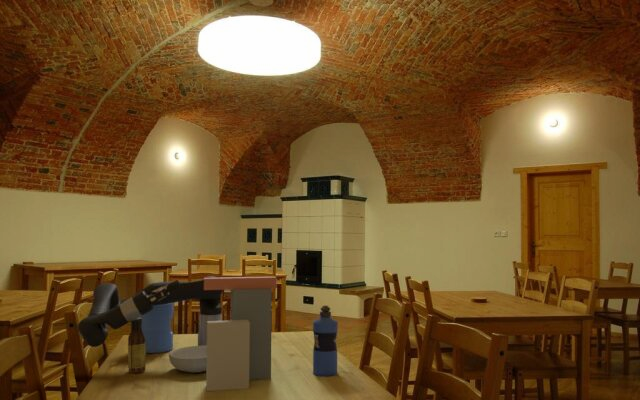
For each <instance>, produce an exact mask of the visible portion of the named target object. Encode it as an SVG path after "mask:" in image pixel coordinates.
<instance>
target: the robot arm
mask: <svg viewBox="0 0 640 400" xmlns="http://www.w3.org/2000/svg"><path fill="white" fill-rule="evenodd" d="M204 278H218V276H217V277H216V276H214V275H207V276H204V277H203V278H202V279H200V280H199V279H198V280H195V281H193V280H192V281H179V280H178V279H175V280H174V281H172V280H171V281H159V282H152V283H150V284H148V285H147V286H145V287H144V288H141V290H139V291H138V292H136V294H134V295H132V296H131V297H127V298H123V299H120V298H119V297H120V296H119V289H118V286H117V285H116V284H115V283H111V282H105V283H102V284H98V285H97V286H95V288H94V289H93V301H92V305H91V308H90V310H89V313H88V315H87V317H84V318H83V319H82V320H80V321H79V322H78V324H77V330H78V332H79V334H80V335H81V337H82V338H83V340H84V341H85V343H86V345H88V346H89V347H92V348H97V347H100V346H102V344H104V343H105V342H106V341H107V339H108V336H109V330H108V326H109V327H110V328H111V329H113V330H117V329H119V328H122V327H123V326H125V325H127V324H128V323H131V321H133V320H136V319H137V318H139V317H141V316H143V315H144V314H146V313H148V312H150V311H152V310H153V309H154V307H153V305H162V304H169V303H173V304H174V303H179V302H183V301H189V300H198V299H199V302H198V303H199V330H198V331H197V346H207V321H223V316H222V315H223V307H222V299H221V296H222V294H223V292H224V290H204Z"/></svg>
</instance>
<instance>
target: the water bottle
mask: <svg viewBox="0 0 640 400" xmlns="http://www.w3.org/2000/svg"><path fill="white" fill-rule="evenodd" d="M331 316H332V312H331V308H330V307H329V305H322V306H321V307H320V311H319V318H317V319H315V320H313V322H312V332H313V340H314V344H313V349H312V350H313V351H312V374H313V375H314V376H316V377H322V378H323V377H324V378H325V377H326V378H327V377H328V378H329V377H334V376H336V375H338V346H337V338H338V331H339V329H338V328H339V324H338V321H337V320H335V319H333V318H332V317H331Z"/></svg>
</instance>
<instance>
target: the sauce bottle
mask: <svg viewBox="0 0 640 400" xmlns="http://www.w3.org/2000/svg"><path fill="white" fill-rule="evenodd" d="M141 323H142V318H137V319H136V320H133V321H131V322H130V325H131V328H130V333H129V335H128V338H127V357H128V358H127V359H128V362H127V363H128V364H127V366H128V367H127V368H128V372H129V373H131V372H134V373H133V374H139V373H138V372H140V373H143V372H145V371H146V366H147V362H146V359H147V358H146V355H147V353H146V351H145V337H144V334H143V331H142V324H141Z"/></svg>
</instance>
